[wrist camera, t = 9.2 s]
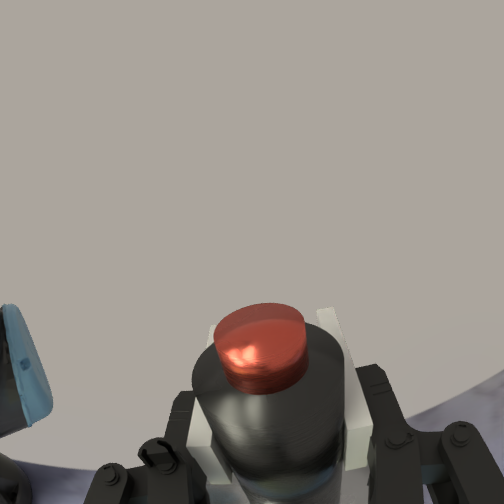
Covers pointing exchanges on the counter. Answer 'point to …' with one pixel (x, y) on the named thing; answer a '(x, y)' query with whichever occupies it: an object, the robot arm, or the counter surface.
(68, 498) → the counter surface
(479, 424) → the counter surface
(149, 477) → the robot arm
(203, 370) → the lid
